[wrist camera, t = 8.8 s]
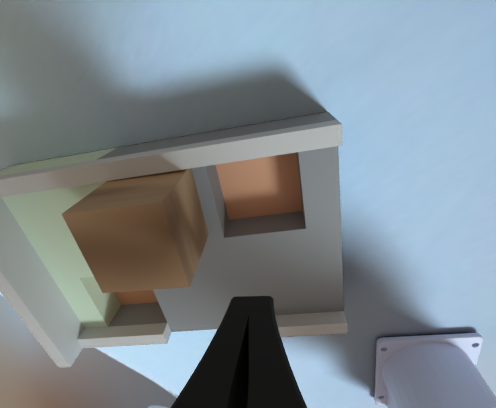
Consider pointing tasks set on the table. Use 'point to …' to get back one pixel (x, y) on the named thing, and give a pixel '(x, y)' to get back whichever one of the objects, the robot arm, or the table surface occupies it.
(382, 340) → the robot arm
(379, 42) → the table surface
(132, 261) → the walnut block
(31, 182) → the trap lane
